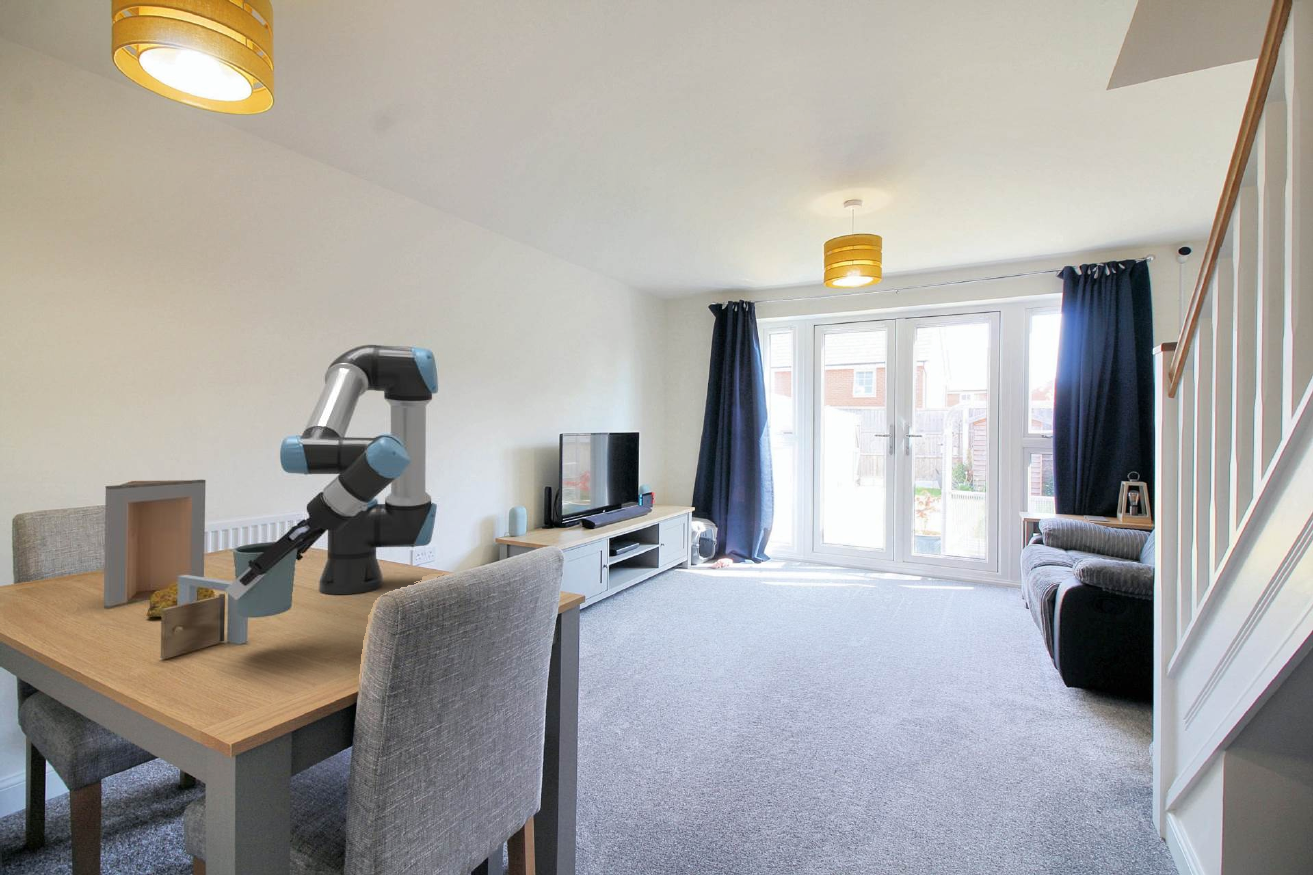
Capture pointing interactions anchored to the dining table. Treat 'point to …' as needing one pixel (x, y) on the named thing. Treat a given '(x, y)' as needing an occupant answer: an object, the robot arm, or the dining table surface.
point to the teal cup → (265, 583)
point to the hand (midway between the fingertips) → (248, 585)
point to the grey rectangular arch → (236, 623)
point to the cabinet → (152, 537)
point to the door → (192, 626)
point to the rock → (172, 598)
